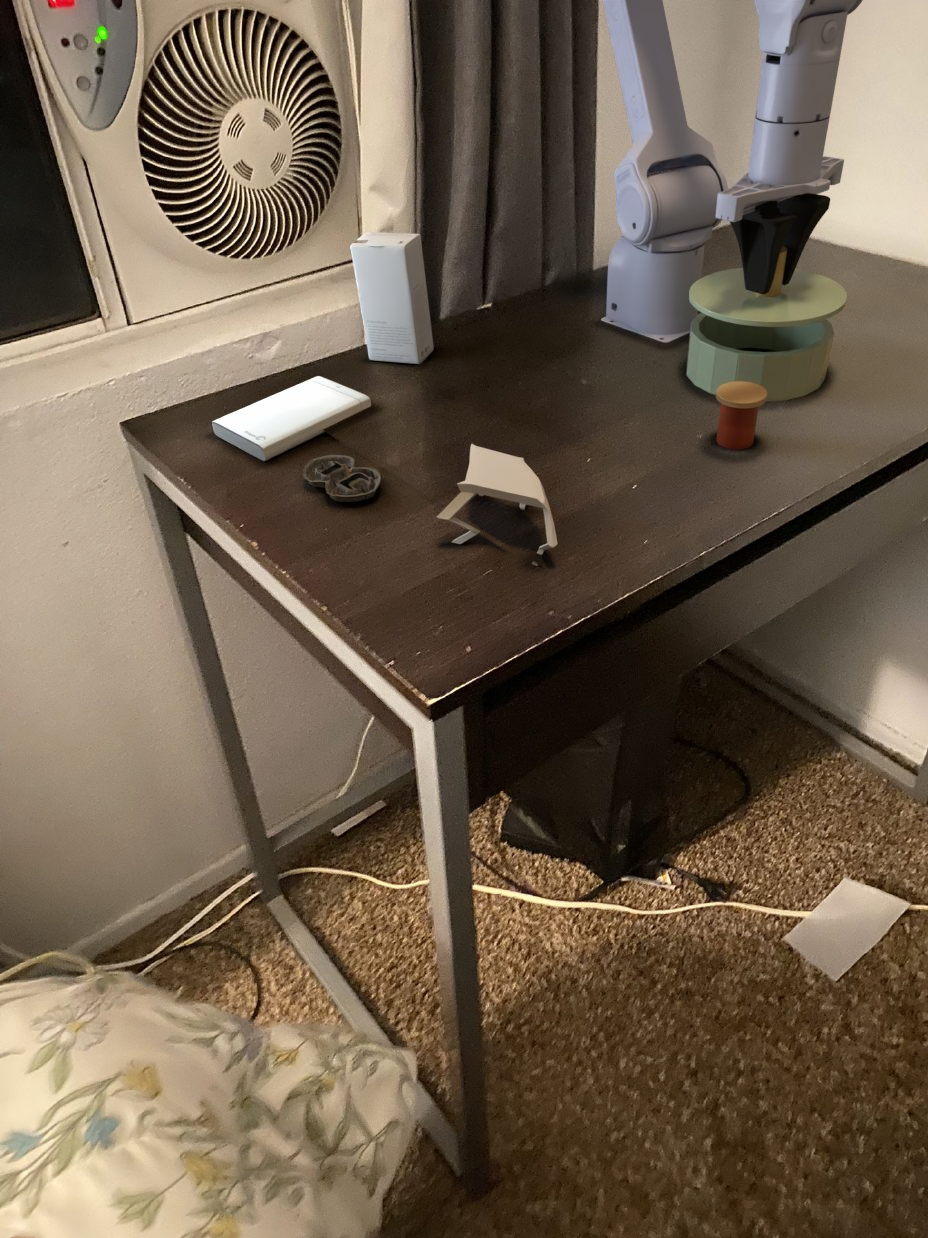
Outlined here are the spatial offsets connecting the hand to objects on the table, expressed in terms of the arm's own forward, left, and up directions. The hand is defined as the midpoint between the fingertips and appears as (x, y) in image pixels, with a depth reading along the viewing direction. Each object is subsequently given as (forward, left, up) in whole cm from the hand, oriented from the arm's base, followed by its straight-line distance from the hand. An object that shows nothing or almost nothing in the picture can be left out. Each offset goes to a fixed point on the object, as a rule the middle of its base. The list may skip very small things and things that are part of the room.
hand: (766, 286), depth 81 cm
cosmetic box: (-30, -20, -9) cm, 37 cm away
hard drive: (-25, -36, -9) cm, 45 cm away
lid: (0, 0, -1) cm, 1 cm away
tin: (0, 0, -9) cm, 9 cm away
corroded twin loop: (-12, -39, -9) cm, 42 cm away
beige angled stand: (+3, -34, -9) cm, 36 cm away
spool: (+7, -12, -9) cm, 16 cm away
